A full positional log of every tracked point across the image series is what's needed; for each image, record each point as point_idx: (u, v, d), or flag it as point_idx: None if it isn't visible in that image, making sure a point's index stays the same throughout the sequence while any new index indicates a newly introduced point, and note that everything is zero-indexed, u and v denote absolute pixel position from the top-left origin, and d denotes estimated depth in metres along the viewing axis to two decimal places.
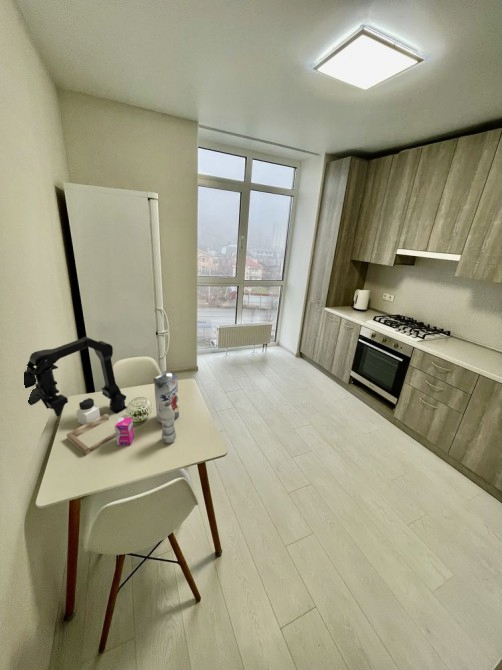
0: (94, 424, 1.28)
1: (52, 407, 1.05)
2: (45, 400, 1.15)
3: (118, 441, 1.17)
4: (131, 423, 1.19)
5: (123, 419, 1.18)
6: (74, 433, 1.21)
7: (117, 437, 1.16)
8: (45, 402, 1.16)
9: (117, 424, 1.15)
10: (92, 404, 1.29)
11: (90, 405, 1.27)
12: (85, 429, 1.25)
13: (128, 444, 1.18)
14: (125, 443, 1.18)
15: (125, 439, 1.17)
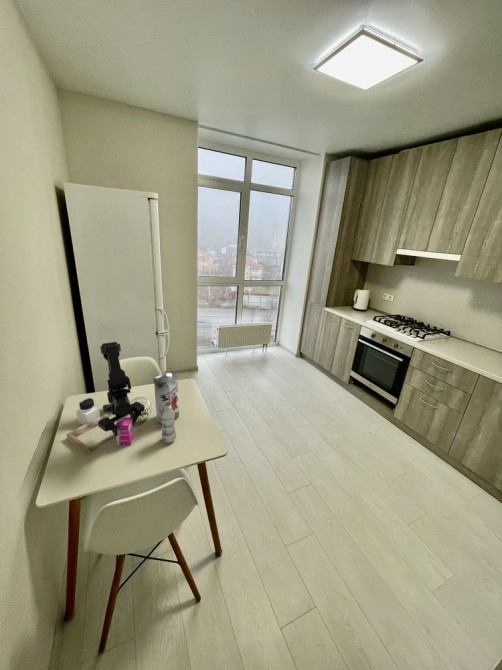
0: (94, 424, 1.28)
1: None
2: None
3: (118, 441, 1.17)
4: (131, 423, 1.19)
5: (123, 419, 1.18)
6: (74, 433, 1.21)
7: (117, 437, 1.16)
8: None
9: (117, 424, 1.15)
10: (92, 404, 1.29)
11: (90, 405, 1.27)
12: (85, 429, 1.25)
13: (128, 444, 1.18)
14: (125, 443, 1.18)
15: (125, 439, 1.17)
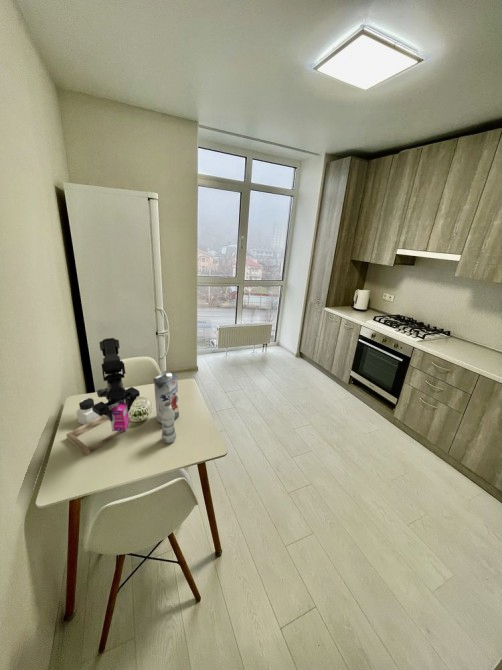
0: (94, 424, 1.28)
1: None
2: None
3: (113, 426, 1.16)
4: (126, 409, 1.18)
5: (118, 404, 1.17)
6: (74, 433, 1.21)
7: (112, 422, 1.16)
8: None
9: (112, 409, 1.14)
10: (92, 404, 1.29)
11: (90, 405, 1.27)
12: (85, 429, 1.25)
13: (123, 430, 1.18)
14: (120, 428, 1.17)
15: (120, 424, 1.16)
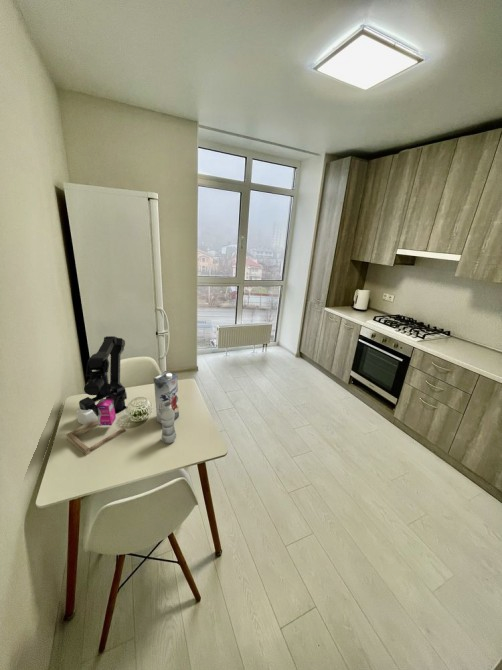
0: (94, 424, 1.28)
1: None
2: None
3: (99, 421, 1.23)
4: (112, 404, 1.25)
5: (104, 400, 1.24)
6: (74, 433, 1.21)
7: (98, 417, 1.22)
8: None
9: (98, 404, 1.20)
10: None
11: None
12: (85, 429, 1.25)
13: (109, 424, 1.24)
14: (106, 423, 1.23)
15: (106, 419, 1.23)
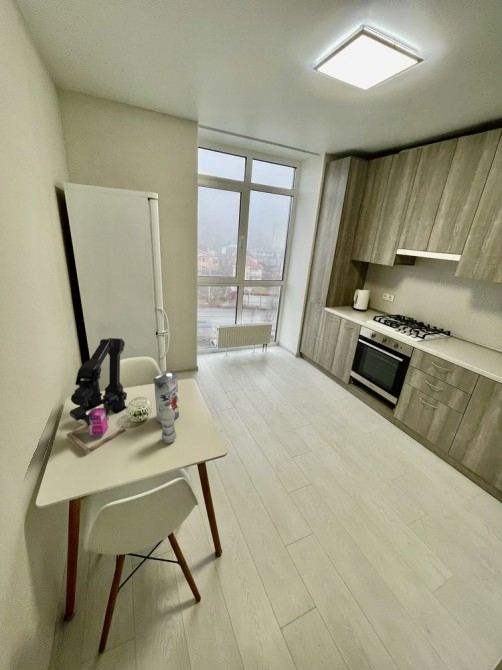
0: None
1: None
2: None
3: (91, 431, 1.20)
4: (104, 413, 1.22)
5: (96, 409, 1.21)
6: (74, 433, 1.21)
7: (90, 427, 1.19)
8: None
9: (90, 414, 1.18)
10: None
11: None
12: (85, 429, 1.25)
13: (101, 434, 1.21)
14: (98, 433, 1.21)
15: (98, 429, 1.20)
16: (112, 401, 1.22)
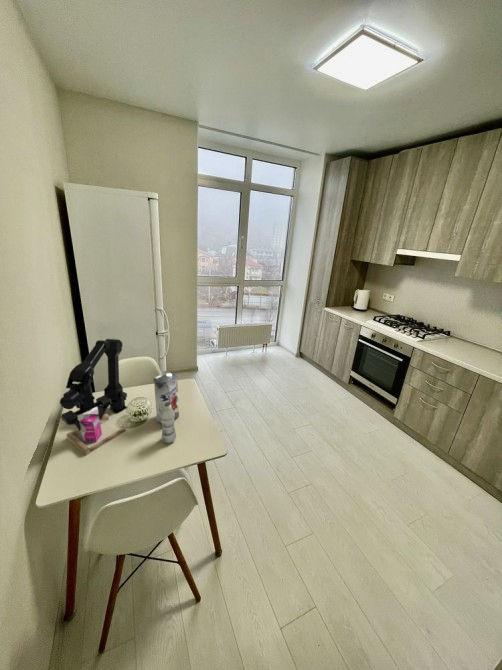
0: None
1: None
2: (99, 411, 1.22)
3: (84, 437, 1.18)
4: (97, 420, 1.20)
5: (89, 415, 1.19)
6: (74, 433, 1.21)
7: (83, 433, 1.17)
8: (98, 413, 1.22)
9: (82, 420, 1.16)
10: None
11: None
12: None
13: (94, 440, 1.19)
14: (91, 439, 1.19)
15: (91, 435, 1.18)
16: (105, 404, 1.20)
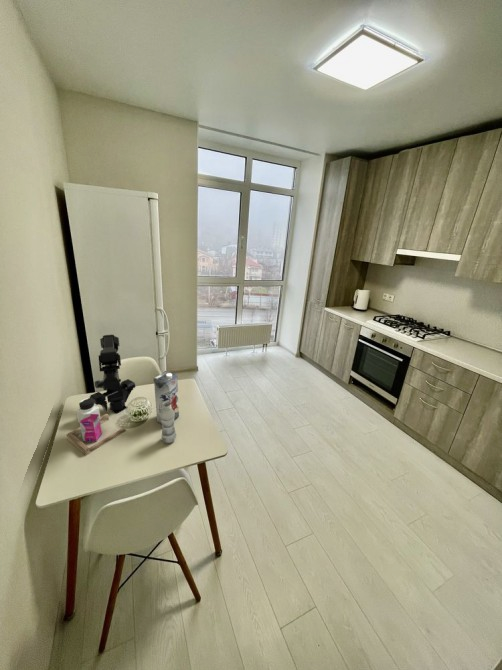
0: None
1: None
2: (123, 394, 1.26)
3: (84, 437, 1.18)
4: (97, 420, 1.20)
5: (89, 415, 1.19)
6: (74, 433, 1.21)
7: (83, 433, 1.17)
8: (123, 395, 1.26)
9: (82, 420, 1.16)
10: (92, 404, 1.29)
11: (90, 405, 1.27)
12: None
13: (94, 440, 1.19)
14: (91, 439, 1.19)
15: (91, 435, 1.18)
16: (130, 387, 1.24)
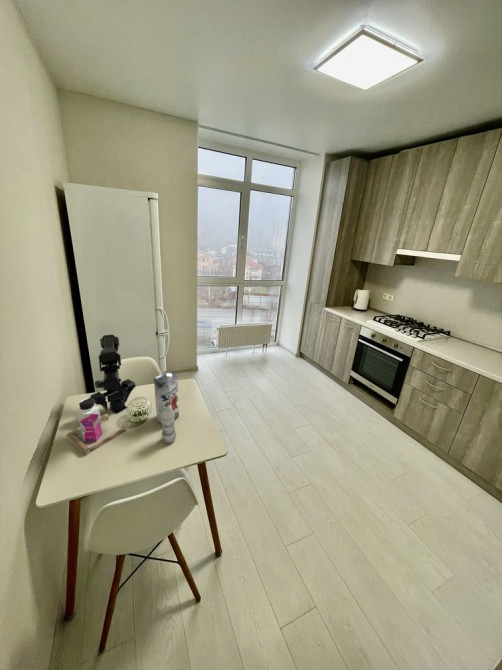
0: None
1: None
2: (124, 394, 1.26)
3: (84, 437, 1.18)
4: (97, 420, 1.20)
5: (89, 415, 1.19)
6: (74, 433, 1.21)
7: (83, 433, 1.17)
8: (123, 395, 1.26)
9: (82, 420, 1.16)
10: (92, 404, 1.29)
11: (90, 405, 1.27)
12: None
13: (94, 440, 1.19)
14: (91, 439, 1.19)
15: (91, 435, 1.18)
16: (130, 387, 1.24)
